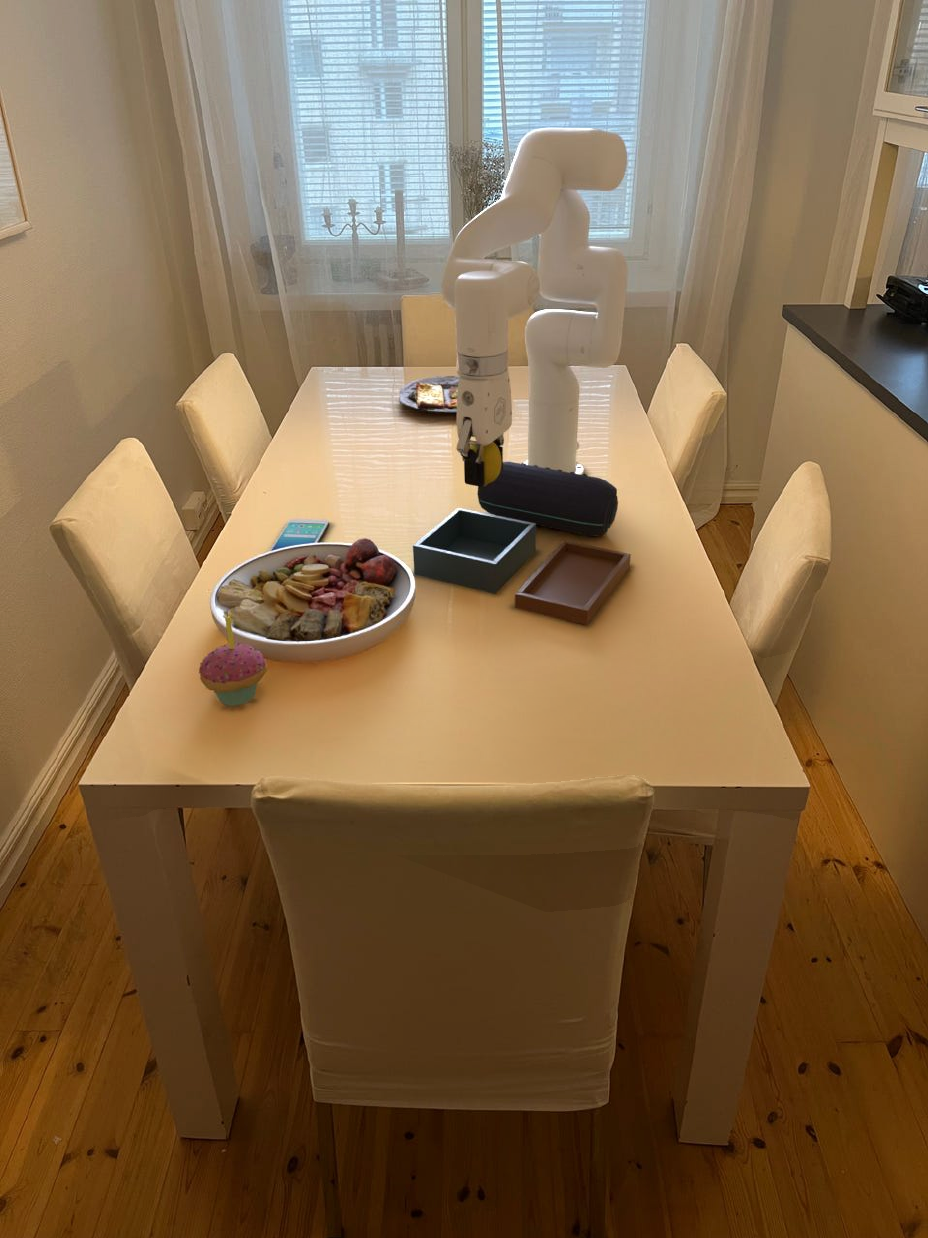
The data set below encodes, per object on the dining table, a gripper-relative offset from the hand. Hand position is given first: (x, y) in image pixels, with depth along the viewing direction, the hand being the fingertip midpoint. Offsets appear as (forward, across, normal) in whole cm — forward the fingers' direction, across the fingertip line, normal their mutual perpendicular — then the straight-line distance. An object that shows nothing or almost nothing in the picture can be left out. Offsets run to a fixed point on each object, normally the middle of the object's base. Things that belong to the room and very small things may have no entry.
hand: (483, 475), depth 145 cm
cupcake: (+15, -47, +13) cm, 51 cm away
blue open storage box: (+16, -1, +1) cm, 16 cm away
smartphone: (+16, -7, +32) cm, 37 cm away
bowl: (+15, -26, +15) cm, 34 cm away
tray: (+16, -1, -16) cm, 22 cm away
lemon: (+2, 0, 0) cm, 2 cm away
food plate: (+17, +68, +44) cm, 83 cm away
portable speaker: (+16, +18, -4) cm, 24 cm away
